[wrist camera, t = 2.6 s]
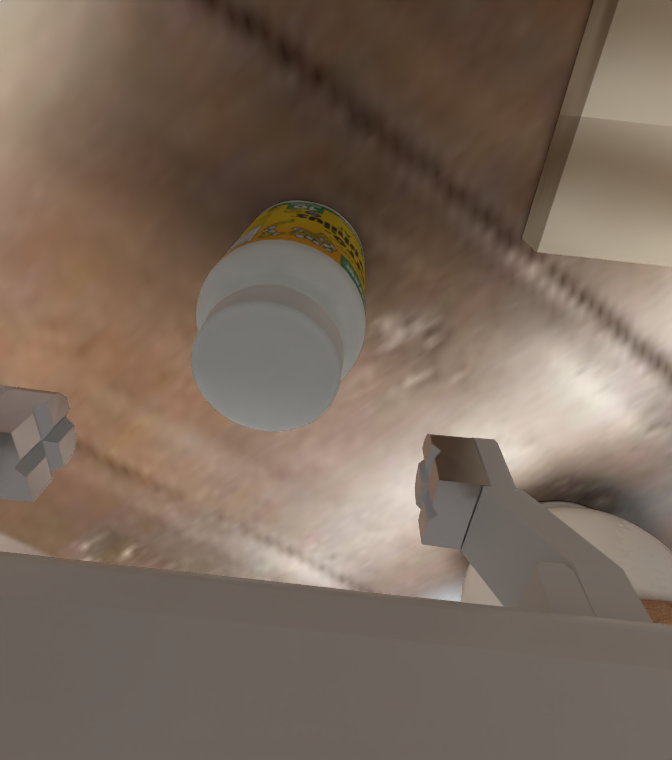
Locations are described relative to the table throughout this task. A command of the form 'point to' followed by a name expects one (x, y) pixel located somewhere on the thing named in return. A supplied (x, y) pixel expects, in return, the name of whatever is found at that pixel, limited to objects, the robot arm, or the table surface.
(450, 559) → the table surface
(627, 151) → the pin board
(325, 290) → the supplement bottle
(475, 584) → the lidded bowl
